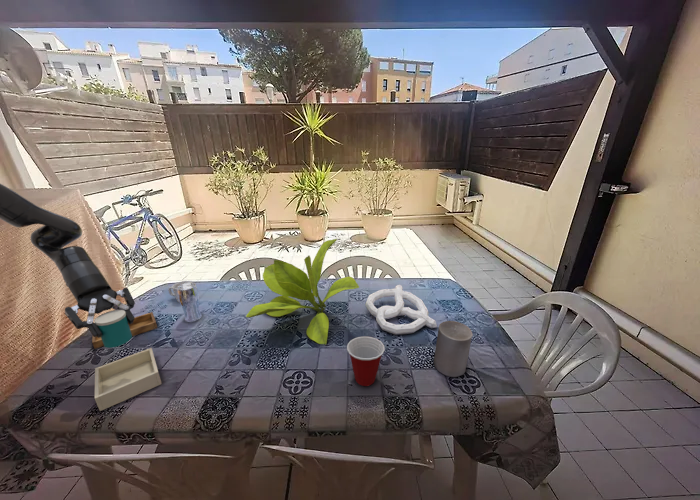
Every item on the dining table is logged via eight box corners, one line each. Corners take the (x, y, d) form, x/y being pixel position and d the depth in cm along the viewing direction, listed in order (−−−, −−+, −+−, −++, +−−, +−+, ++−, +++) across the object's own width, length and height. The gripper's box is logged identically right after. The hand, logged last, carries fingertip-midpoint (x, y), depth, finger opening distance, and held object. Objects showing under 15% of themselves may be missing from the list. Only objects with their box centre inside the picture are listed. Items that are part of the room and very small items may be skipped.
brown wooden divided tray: (95, 350, 92) (92, 342, 91) (95, 337, 99) (92, 329, 98) (158, 329, 104) (156, 322, 102) (154, 318, 110) (152, 311, 109)
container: (103, 351, 72) (94, 326, 69) (103, 339, 77) (94, 315, 74) (133, 341, 76) (126, 316, 73) (131, 330, 81) (124, 307, 78)
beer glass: (207, 316, 112) (200, 284, 107) (191, 325, 106) (183, 291, 101) (195, 312, 114) (188, 280, 109) (179, 321, 108) (171, 288, 103)
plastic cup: (378, 363, 87) (379, 332, 83) (387, 391, 77) (389, 357, 73) (344, 367, 86) (344, 335, 81) (349, 395, 75) (349, 361, 71)
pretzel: (442, 330, 106) (445, 317, 103) (389, 347, 98) (391, 333, 95) (404, 290, 129) (405, 279, 126) (358, 301, 121) (359, 289, 118)
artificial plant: (276, 306, 131) (231, 268, 113) (347, 254, 132) (315, 208, 114) (294, 381, 98) (235, 345, 80) (390, 310, 99) (353, 259, 81)
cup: (165, 304, 121) (161, 288, 118) (176, 295, 128) (173, 280, 125) (189, 305, 120) (185, 288, 118) (199, 296, 128) (196, 280, 125)
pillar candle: (435, 352, 92) (440, 314, 87) (466, 360, 89) (473, 321, 84) (431, 372, 84) (437, 331, 79) (465, 381, 80) (473, 340, 75)
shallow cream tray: (100, 412, 70) (94, 398, 69) (100, 381, 80) (94, 368, 78) (162, 384, 79) (158, 371, 77) (155, 359, 88) (151, 347, 87)
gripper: (49, 284, 68) (83, 339, 66) (118, 265, 80) (148, 311, 78) (50, 297, 72) (81, 349, 70) (115, 277, 84) (143, 321, 82)
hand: (116, 329), depth 74 cm, fingers closed on container, 6 cm apart
